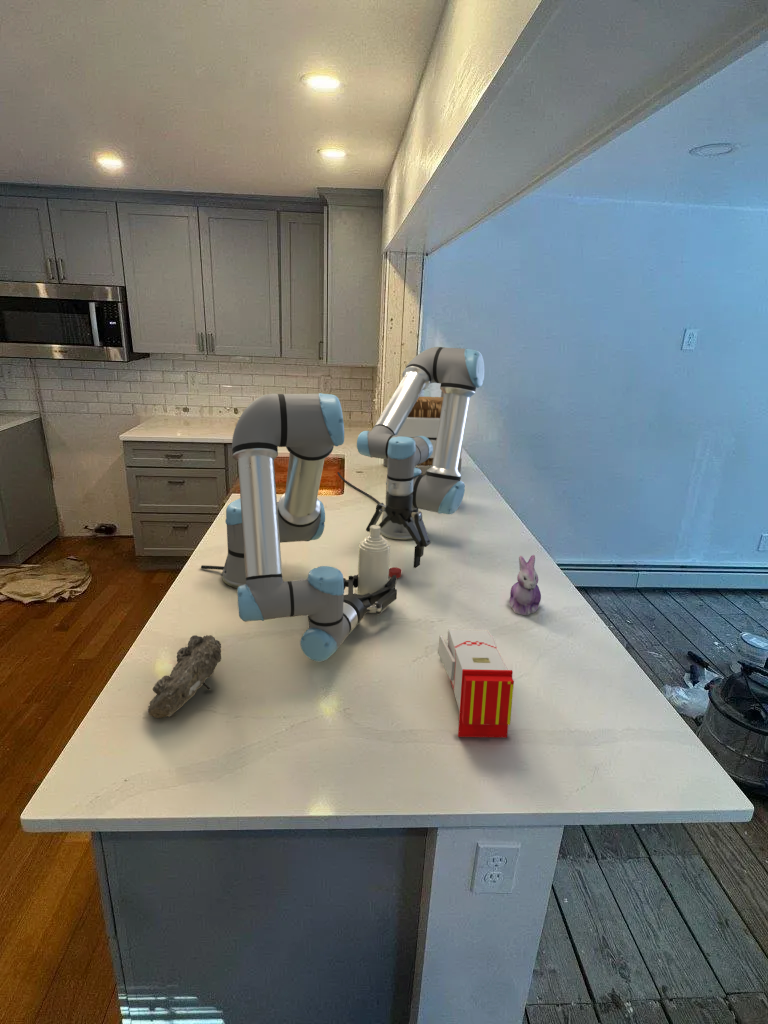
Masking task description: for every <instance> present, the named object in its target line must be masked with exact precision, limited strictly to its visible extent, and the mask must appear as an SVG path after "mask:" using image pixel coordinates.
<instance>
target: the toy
mask: <svg viewBox="0 0 768 1024" xmlns="http://www.w3.org/2000/svg"><path fill="white" fill-rule="evenodd" d="M446 640H447V643H446V641H445V639H444V636H443V635H442V634H439V637H438V646H437V656H438V657H439V659H440V661H441V663H442V666H443V668H444V670H445V672H446V674H447V677H448V679H449V681H450V684H451V687H452V690H453V693H454V697H455V701H456V705H457V708H458V711H459V714H458V715H459V716H458V730H457V731H458V732H457V737H458V738H508V731H509V726H510V725H511V717H512V707H513V697H514V696H513V695H514V684H515V680H514V679H513V673H514V671H513V670H512V669H508V667H507V665H506V662H505V661H504V659H503V658H502V655H501V653H500V651H499V649H498V647H497V643H496V639H495V637H494V635H493V634H491V632H490V631H489V629H467V628H466V629H465V628H463V629H461V628H460V629H459V628H448V630H447V639H446Z"/></svg>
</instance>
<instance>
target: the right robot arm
mask: <svg viewBox="0 0 768 1024" xmlns="http://www.w3.org/2000/svg"><path fill="white" fill-rule="evenodd" d="M485 371H486V370H485V361H484V357H483V355H482V353H481V352H480V351H479V350H477V349H471V348H461V347H460V348H459V347H445V346H444V347H443V346H433V347H429V348H427V349H424V350H423V351H421V352H420V353H418V354H417V355H416V356H414V357H413V358H412V359H411V360H410V361H409V362H408V363H407V364H406V366H405V368H404V369H403V371H402V374H401V376H402V379H401V381H400V382H399V384H398V385H397V386H398V387H397V386H396V388H397V389H396V388H395V390H396V391H395V390H394V392H393V394H392V395H391V397H390V398H389V400H388V403H387V404H386V405H385V407H384V409H383V411H382V413H381V414H380V416H379V418H378V419H377V421H376V423H375V424H374V426H373V427H372V429H371V430H363V431H361V432H360V433H359V434H358V436H357V440H356V449H357V452H358V453H359V455H361V456H363V457H369V458H375V459H380V460H381V459H382V460H384V459H387V460H388V467H387V466H386V467H387V470H386V472H387V474H386V480H385V481H386V482H385V503H384V502H380V501H379V500H377V499H376V498H375V497H374V496H372V495H371V494H369V493H367V492H366V491H364V490H362V489H360V488H359V487H357V486H355V485H353V484H352V483H350V482H349V481H348V480H346V479H345V478H344V477H343V476H342V475H341V473H340V471H337V475H338V477H339V478H340V479H341V480H342V481H343V482H344V483H346V484H347V485H348V486H350V487H352V488H353V489H355V490H357V491H358V492H360V493H362V494H363V495H365V496H367V497H368V498H370V499H371V500H372V501H374V502H375V503H377V504H376V506H375V512H374V513H373V515H372V517H371V519H370V521H369V522H368V524H367V526H366V528H365V532H367V533H370V526H371V525H377V523H378V521H379V520H380V518H381V516H382V519H381V522H379V524H378V525H379V526H380V528H381V529H380V535H381V536H382V537H384V538H387V539H389V540H395V541H410V540H413V541H414V543H415V546H414V550H413V554H414V556H413V568H414V569H417V568H418V567H420V566H421V558H422V557H423V556H424V552H425V548H427V547H428V546H429V545H431V543H432V542H431V540H430V535H429V534H428V531H427V528H426V525H425V522H424V520H423V513H422V511H419V510H423V511H427V512H434V513H437V514H439V515H442V514H444V515H453V514H455V513H456V512H457V511H458V509H459V508H460V506H461V504H462V502H463V499H464V496H465V490H466V485H465V482H464V481H462V480H461V479H462V474H460V473H459V472H458V464H459V458H460V452H461V446H462V447H463V443H462V441H464V440H463V439H464V433H465V428H466V422H467V415H468V409H469V403H470V399H471V398H472V396H474V395H475V394H476V390H477V388H478V389H479V388H481V387H482V386H483V384H484V380H485ZM430 384H440V386H439V389H440V390H441V392H443V394H444V396H443V402H442V408H441V414H440V420H439V427H438V433H437V439H436V445H435V451H434V457H433V463H432V465H430V466H429V468H428V469H427V470H426V473H425V474H422V470H421V468H419V467H417V465H419V464H421V463H423V462H425V461H426V460H427V459H428V458H429V457H430V456H431V455H432V452H433V446H432V443H431V441H430V440H429V439H428V438H427V437H424V436H416V437H414V438H410V437H403V436H397V434H398V433H399V431H400V429H401V427H402V426H403V424H404V422H405V420H406V419H407V417H408V415H409V413H410V411H411V410H412V408H413V406H414V404H415V403H416V401H417V399H418V397H421V396H420V395H421V394H422V392H423V391H425V390H426V389H428V388H429V386H430ZM382 514H383V515H382Z"/></svg>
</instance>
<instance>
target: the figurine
mask: <svg viewBox="0 0 768 1024" xmlns="http://www.w3.org/2000/svg"><path fill="white" fill-rule="evenodd" d="M535 563H536V555H535V554H532V555H530V557H529V559H528V561H526V560H525V558H524V556H523V555H519V557H518V564H519V571H518V573H517V578H516V581H517V582H515V583H514V584H513V585H512V586H511V588H510V593H509V602H508V603H509V607H510V608H511V609H512V610H513V613H515V614H518V615H524V616H529V615H530V614H534V613H536V612H537V611H538V609H539V606H540V603H541V600H542V594H541V589H540V588H539V585H538V583H539V575H538V573H537V571H536V567H535V565H536V564H535Z"/></svg>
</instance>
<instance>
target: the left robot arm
mask: <svg viewBox="0 0 768 1024" xmlns="http://www.w3.org/2000/svg"><path fill="white" fill-rule="evenodd" d="M247 405H248V406H246V407H245V408H244V410H243V412H242V413H241V415H240V417H239V418H238V420H237V422H236V424H235V427H234V431H233V433H232V440H231V449H232V450H231V451H232V452H231V453H232V459H234V460H235V461H236V462H237V463H238V464H237V467H238V478H239V479H238V481H239V497H240V498H237V499H235V500H233V501H231V502H230V503H229V504H228V505H227V506H226V510H225V524H226V541H227V554H226V555H227V556H226V559H225V561H224V566H223V565H222V566H221V565H205V564H202V565H201V566H200V569H203V570H219V571H222V581H223V583H224V584H226V585H227V586H229V587H231V588H235V589H236V590H237V591H236V592H237V593H236V595H237V608H238V609H237V611H238V617H239V619H240V620H242V621H243V622H256V621H262V622H265V621H267V620H275V619H285V618H293V617H304V616H305V617H306V616H307V617H308V618H307V619H308V628H307V629H306V630H305V631H304V633H303V635H302V636H301V638H300V641H299V643H300V648H301V651H302V652H303V654H304V655H305V656H306V657H307V658H308V659H310V660H312V661H315V662H320V663H321V662H325V661H327V660H328V659H330V657H331V656H332V655H334V654H335V653H336V652H337V650H338V649H339V648H340V646H341V645H342V644H343V643H344V641H345V640H346V639H347V638H348V636H349V635H350V634H351V633H352V632H353V630H354V629H355V628H356V627H357V626H358V625H359V623H360V622H361V621H362V620H363V619H364V617H365V615H366V614H367V613H369V611H370V610H372V611H376V613H375V614H376V615H381V614H382V612H383V611H384V610H383V609H384V608H386V607H387V608H388V607H389V606H390V605H391V604H392V603H393V602H395V601H396V600H397V598H398V597H397V596H398V589H396V585H397V578H396V575H393V576H392V578H391V577H390V579H389V580H388V582H387V583H386V585H385V588H383V589H381V590H378V591H376V592H374V593H371V594H370V593H367V594H365V595H359V594H357V593H355V592H354V589H356V588H357V589H358V574H354V575H349V576H348V579H346V578H344V574H343V573H342V571H341V570H340V569H338V568H336V567H334V566H330V565H329V566H328V565H321V566H317V567H314V568H312V569H311V570H309V572H308V575H307V579H295V580H284V579H283V565H282V553H281V552H282V551H281V543H282V544H283V543H294V542H311V541H317V540H318V539H320V538H321V537H322V536H323V534H324V530H325V526H326V525H325V522H326V511H325V506H324V503H323V502H322V500H320V499H319V498H318V496H319V491H320V485H321V481H322V474H323V470H324V464H325V459H326V458H328V457H329V456H330V455H331V454H332V452H333V450H334V447H339V446H342V445H343V444H344V443H345V423H344V415H343V414H344V413H343V409H342V405H341V401H340V398H339V397H338V396H337V395H335V394H331V393H323V392H319V393H268V394H263V395H261V396H259V397H257V398H255V399H254V400H253V401H251V402H250V403H249V404H247ZM278 448H285V449H286V450H287V451H288V452H289V457H288V465H287V473H286V484H285V492H284V493H283V494H282V495H281V496H280V498H279V501H278V500H277V499H278V497H277V486H276V472H275V471H276V470H275V460H276V459H277V457H278V456H279V449H278ZM346 588H348V589H347V594H345V590H346ZM373 604H374V605H373ZM387 608H386V609H387ZM382 610H383V611H382Z"/></svg>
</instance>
